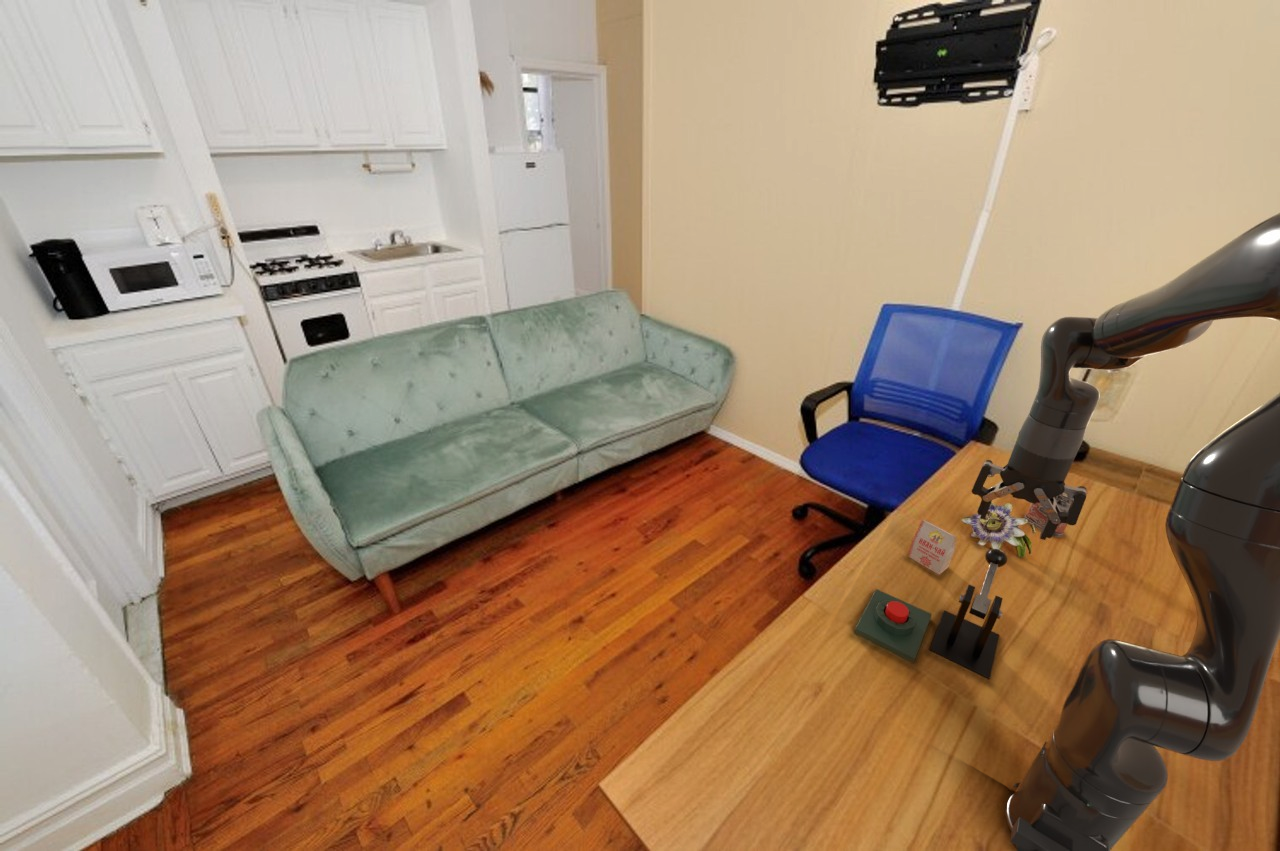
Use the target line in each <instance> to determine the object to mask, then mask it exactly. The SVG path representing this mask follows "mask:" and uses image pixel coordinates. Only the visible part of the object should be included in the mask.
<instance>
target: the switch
mask: <svg viewBox="0 0 1280 851" xmlns="http://www.w3.org/2000/svg"><path fill="white" fill-rule="evenodd" d="M984 559H985V561H986V563H987V564H988V569H987V572H986V574H985V577H984V581H983V583H982V586H981V589H980V592H979V594H978V593H976V594H975V596H974V597H973V600H972V603H971V604H970V605H971V606H970V608H969V612H968V613H969V614H970V615H972V616H975V617H976V618H977V617H978V618H979V619H982V620H985V619H986V617H987V614H988V612H989V610H990V607H991V604H992V600H991V599H990V598H989V594H990V591H991V589H992V584H993V582H994V579H995V576H996V573H997V570H998V568H1002V567H1004V566H1006V564H1007V563H1008V556H1007V554H1006V552H1004V551H1003V550H1001V549H1000V550H999V549H992V548H991V549H988V550H987V551H986V552H985V555H984Z"/></svg>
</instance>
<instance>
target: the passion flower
mask: <svg viewBox="0 0 1280 851" xmlns="http://www.w3.org/2000/svg"><path fill="white" fill-rule="evenodd" d="M978 508H979V506H978V507H977V509H978ZM1012 510H1013V504H1012V502H1007V503H1005V504H1003V505H997V504H994V502H993V501H992V502H991V504H990V507H989V510H988V512H987V515H986V517H985V520H984V519H981V518H980V517H981V515H979V514H978V513H976V514H972V515H971V516H965V517H962V518H961V519H960V520H961V522H962V523H964V524H966V525H970V526H971V529H972V531H971V533H970V537H971V538H973V539H977V540H978V541H977V545H980V546H983V547H985V546H986V545H987V544H988V543H989V544H990V545H991V549H999V550H1001V549H1002V547H1003V544H1004V543H1008V544H1009V545H1011V546H1012V547H1013V546H1014V548H1015V550H1016V554H1017V557H1019V558H1021V559H1022V558H1024V557H1025V556H1026V552H1027V551H1028V554H1029V555H1031V554H1032V541H1031V539H1030V537H1028V535H1027V534H1026V533H1025V532H1024V530H1022V529H1021V527H1019V526H1023V525H1026V524H1029V526H1030V528H1031V529H1032V530H1031V533H1032V534H1037V531H1036V527H1035V526H1034V524H1033V523H1031V522H1028V520H1027V519H1024V517H1020V516H1019V517H1018V516H1012V514H1011V512H1012ZM1030 523H1031V524H1030Z"/></svg>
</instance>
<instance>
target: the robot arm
mask: <svg viewBox="0 0 1280 851" xmlns="http://www.w3.org/2000/svg"><path fill="white" fill-rule="evenodd" d="M1239 318H1241V319H1242V318H1266V319H1268V320H1269V319H1271V320H1273V321H1278V322H1280V212H1278V213H1276V214H1274V215H1272V216H1270V217H1269V218H1268V217H1267V219H1265V220H1263V221H1261V222H1259V223H1258V224H1256V225H1254V226H1253V227H1250V228H1249V229H1248V230H1246V231H1244V232H1243V233H1241V234H1240V235H1238V236H1237V237H1235V238H1233V239H1232V240H1231V241H1229V242H1227V243H1225V244H1224V245H1223V246H1222V247H1220V248H1218V249H1217V250H1215V251H1214V252H1213V253H1211V254H1209V255H1207V256H1206V257H1204V258H1203V259H1201V260H1200V261H1199V262H1197V263H1196V264H1194V265H1192V266H1191V267H1190V268H1188V269H1187V270H1185V271H1184V272H1181V273H1180V274H1179V275H1178V276H1176V277H1175V278H1173V279H1172V280H1170V281H1168V282H1166V283H1165V284H1162V285H1161V286H1159V287H1157V288H1155V289H1152V290H1150V291H1148V292H1145V293H1143V294H1141V295H1138V296H1135V297H1133V298H1131V299H1128V300H1126V301H1124V302H1121V303H1119V304H1116V305H1114V306H1112V307H1110V308H1109V309H1107V310H1105V311H1104V312H1103V313H1101V314H1100V315H1099V316H1098V317H1087V316H1086V317H1084V316H1063V317H1061V318H1058V319H1056V320H1055V321H1053V322H1052V323H1051V324H1050V325H1049V326H1048V327H1047V328H1046V329H1045V331H1044V333H1043V335H1042V338H1041V341H1040V342H1041V343H1040V374H1039V382H1038V388H1037V392H1036V394H1035V397H1034V399H1033V403H1032V405H1031V407H1030V410H1029V412H1028V414H1027V417H1026V419H1025V420H1024V421H1023V423H1022V426H1021V428H1020V430H1019V431H1018V435H1017V438H1016V441H1015V444H1014V446H1013V449H1012V451H1011V453H1010V456H1009V459H1008V461H1007V463H1006V464H1005V465H1004V466H1000V465H998V464H994V463H993V462H994V461H992V460H991V459H986V460H984V461H983V464H982V466H981V468H980V470H979V472H978V475H977V477H976V479H975V482H974V484H973V486H972V489H971V493H972V494H973V495H974V496H979V497H980V498H981V501H980V503H979V505H978V507H979V508H978V507H977V511H976V512H977V514H979V515H981V517H980V518H981V519H984V520H985V517H986V515H987V512H988V510H989V507H990V504H991V502H993V501H994V500H996V499H998V498H1000V499H1001V498H1004V497H1006V496H1008V495H1011V497H1012V498H1015V499H1018V500H1024V501H1026V502H1027V503H1030V504H1031V503H1034V504H1035V503H1041V505H1042V507H1043V509H1044V511H1045V512H1046V513H1047V514H1048V518H1047V520H1046V522H1045V525H1044V527H1043V529H1042V530H1040V531H1041V532H1040V535H1039V539H1040V540H1043V541H1046V539H1052V538H1053V537H1054V536H1053V535H1054V532H1055V530H1056V528H1057V526H1058V525H1059V524H1060V523H1067V525H1069V526H1076V525H1077V522H1078V520H1079V517H1080V514H1081V512H1082V509H1083V507H1084V504H1085V502H1086V499H1087V493H1088V489H1087V487H1085V486H1083V485H1079V486H1077V487H1075V486H1071V485H1067V484H1066V483H1065V480H1066V479H1067V476H1068V475H1069V472H1070V470H1071V468H1072V466H1073V463H1074V461H1075V458H1076V457H1077V455H1078V452H1079V450H1080V448H1081V446H1082V444H1083V441H1084V438H1085V434H1086V430H1087V427H1088V425H1089V423H1090V420H1091V418H1092V416H1093V414H1094V412H1095V411H1096V410H1095V409H1096V408H1097V405H1098V403H1099V400H1100V396H1101V395H1100V391H1099V389H1098V388H1097V387H1096V386H1095V385H1093V384H1091V383H1089V382H1087V381H1084V380H1081V379H1077V378H1074V377H1070V372H1071V370H1072V369H1073V368H1074V369H1085V370H1098V371H1099V370H1100V371H1113V370H1114V371H1117V370H1122V369H1127V368H1130V367H1132V366H1133V365H1135V364H1136V363H1137V362H1139V361H1141V360H1142V359H1144V357H1146V356H1149V355H1155V354H1158V353H1163V352H1167V351H1170V350H1173V349H1177V348H1180V347H1183V346H1185V345H1188V344H1190V343H1191V342H1193V341H1195V340H1197V339H1199V337H1201V336H1202V335H1203V334H1205V333H1206V332H1207V331H1208V329H1209V328H1210V327H1211V326H1212V324H1213V322H1214V321H1219V320H1227V319H1229V320H1230V319H1239ZM995 475H999V477H1000V478H1001V480H1000V481H999V482H998V483H996V484H995V485H992V486H991V487H989V488H987V487H985V486H984V485H985V483H986V481H987V479H988V478H993V477H994V476H995ZM1061 494H1066V495H1067V496H1068V497H1067V498H1068V500H1069V501H1072V502H1071V505H1070V508H1069V510H1068V512H1061V511H1060V509H1059V507H1058V505H1057V503H1056V500H1055V498H1054V497H1056V496H1058V495H1061ZM1165 534H1166V538H1167V542H1168V545H1169V547H1170V550H1171V552H1172V555H1173V557H1174V559H1175V562H1176V564H1177V565H1178V566H1177V567H1178V568H1179V570H1180V572H1181V574H1182V576H1183V578H1184V580H1185V583H1186V584H1187V587H1188V588H1189V592H1190V594H1191V596H1192V599H1193V601H1194V605H1195V610H1196V616H1197V617H1196V618H1197V619H1196V627H1195V632H1194V635H1193V638H1192V640H1191V641H1192V642H1191V644H1190V646H1189V648H1188V650H1187V651H1186V652H1185V654H1183V655H1178V654H1175V653H1171V652H1166V651H1163V650H1159V649H1155V648H1151V647H1147V646H1143V645H1139V644H1135V643H1131V642H1128V641H1124V640H1118V639H1113V638H1110V639H1109V638H1107V639H1103V640H1101V641H1099V642H1097V643H1096V644H1095V645H1093V647H1092V648H1091V649H1090V650H1089V651H1088V652H1087V654H1086V656H1085V658H1084V660H1083V662H1082V664H1081V666H1080V668H1079V671H1078V672H1077V675H1076V677H1075V679H1074V681H1073V683H1072V685H1071V687H1070V689H1069V691H1068V693H1067V694H1066V696H1065V699H1064V701H1063V704H1062V708H1061V711H1060V715H1059V719H1058V721H1057V723H1056V724H1055V726H1054V728H1053V730H1052V731H1051V733H1050V734H1049V735H1048V738H1047V739H1046V741H1045V742H1044V744H1043V745H1042V746H1041V748H1040V749H1039V752H1038V753H1037V755H1036V756H1035V758H1034V760H1033V762H1032V763H1031V765H1030V766H1029V768H1028V770H1027V771H1026V773H1025V775H1024V776H1023V777H1022V779H1021V781H1019V782H1017V783H1015V785H1014V786H1013V789H1015V791H1014V793H1013V794H1012V795H1010V796H1009V798H1008V800H1007V802H1006V805H1005V809H1004V810H1005V811H1004V812H1005V820H1006V823H1007V827H1008V829H1009V831H1010V833H1011V834H1010V835H1011V836H1010V843H1012V844H1013V845H1015V849H1016V851H1111V850H1112V849H1113V848H1114V847H1115V845H1117V843H1118V842H1119V841H1120V840H1121V839H1122V837H1124V835H1126V833H1127V832H1128V831H1129V830H1130V828H1132V826H1133V825H1134V824H1135V822H1137V821H1138V820H1139V818H1140V817H1141V816H1142V815H1143V814H1144V813H1145V812H1146V810H1147V809H1148V808H1149V807H1151V805H1153V802H1154V801H1155V800H1156V799H1157V798H1158V797H1159V796H1160V795H1161V794H1162V792H1163V791H1164V790H1165V788H1166V787H1167V784H1168V780H1169V779H1168V778H1169V774H1168V768H1167V766H1166V765H1167V764H1166V763H1165V761H1164V758H1163V757H1162V755H1161V753H1160V752H1159V750H1158V749H1157V748H1160V749H1163V750H1166V751H1170V752H1173V753H1177V754H1178V755H1179V754H1180V755H1183V756H1186V757H1190V758H1193V759H1196V760H1197V759H1198V760H1203V761H1208V762H1222V761H1224V760H1227V759H1229V758H1230V757H1232V756H1233V755H1234V754H1235V753H1237V751H1238V750H1239V749H1240V747H1241V746H1242V745H1243V743H1244V741H1245V740H1246V737H1247V736H1248V733H1249V731H1250V728H1251V727H1252V723H1253V721H1254V718H1255V714H1256V712H1257V709H1258V705H1259V702H1260V698H1261V695H1262V692H1263V688H1264V685H1265V681H1266V679H1267V675H1268V672H1269V669H1270V666H1271V662H1272V659H1273V657H1274V653H1275V651H1276V648H1277V645H1278V642H1279V640H1280V391H1278V392H1277V393H1276V394H1275V395H1274V396H1273V397H1271V398H1270V399H1269V400H1267V401H1266V402H1265V403H1263V404H1262V405H1260V406H1259V407H1257V408H1256V409H1255V410H1253V411H1252V412H1250V413H1249V414H1247V415H1245V416H1244V417H1242V418H1241V419H1240V420H1238V421H1237V422H1235V423H1234V424H1233V425H1231V426H1230V427H1228V428H1226V429H1225V430H1224V431H1222V432H1221V433H1220V434H1219V435H1217V436H1216V437H1215V438H1213V439H1212V440H1211V441H1209V442H1208V443H1207V444H1205V445H1204V446H1203V447H1202V448H1201V449H1200V450H1198V451H1197V453H1195V455H1194V456H1193V457H1192V458H1191V459H1190V461H1189V462H1188V463H1187V465H1186V468H1185V469H1184V471H1183V473H1182V476H1181V479H1180V481H1179V484H1178V486H1177V489H1176V491H1175V494H1174V496H1173V499H1172V502H1171V504H1170V507H1169V509H1168V512H1167V514H1166V518H1165Z"/></svg>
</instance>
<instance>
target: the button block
mask: <svg viewBox="0 0 1280 851" xmlns="http://www.w3.org/2000/svg"><path fill="white" fill-rule="evenodd" d="M891 601H897V602H900V603H902V604H904V605H905V606H906V607H907V608H908V610H909V614H908V617H907V620H906V622H904V623H895V622H893V621H891V620H890V619H888V618H887V616H886V614H885V610H886V607H887V604H888V603H889V602H891ZM931 619H932V613H931V612H929V611H927V610H924V609H922V608H920V607H918V606H915V605H913V604H911V603H909V602H906V601H904V600H902V599H900V598H898V597H896V596H893V595H891V594H889V593H886V592H884V591H883V590H880V589H877V588H876V589H875V590H874V592H873V594H872V596H871V598H870V599H869V601H868V603H867V605H866V607H865V608H864V611H863V613H862V614H861V616H860V618H859V620H858V622H857V624H856V625H855V627H854V631H853V634H854V635H857V636H858V637H860V638H863V639H865V640H866V641H868V642H870V643H872V644H874V645H876V646H878V647H880V648H882V649H884V650H886V651H888V652H890V653H892V654H894V655H896V656H898V657H900V658H901V659H904V660H905V661H907V662H909V663H911V664H914V662H915V660H916V658H917V655H918V652H919V649H920V647H921V644H922V641H923V639H924V637H925V634H926V631H927V629H928V626H929V623H930V620H931Z"/></svg>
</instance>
